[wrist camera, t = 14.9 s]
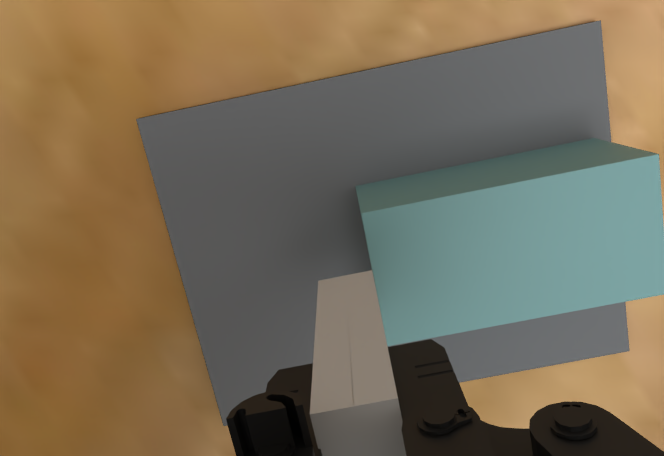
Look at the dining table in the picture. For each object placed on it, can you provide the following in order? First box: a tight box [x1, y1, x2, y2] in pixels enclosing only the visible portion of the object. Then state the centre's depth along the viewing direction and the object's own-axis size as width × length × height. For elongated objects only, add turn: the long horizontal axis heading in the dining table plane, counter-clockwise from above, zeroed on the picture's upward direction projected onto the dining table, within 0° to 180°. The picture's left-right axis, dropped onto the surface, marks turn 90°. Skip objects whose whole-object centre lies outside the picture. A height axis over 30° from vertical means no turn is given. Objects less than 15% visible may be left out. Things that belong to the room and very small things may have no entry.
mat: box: [136, 21, 629, 426], centre depth 23 cm, size 17×13×1 cm
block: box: [355, 138, 664, 346], centre depth 21 cm, size 4×4×9 cm
